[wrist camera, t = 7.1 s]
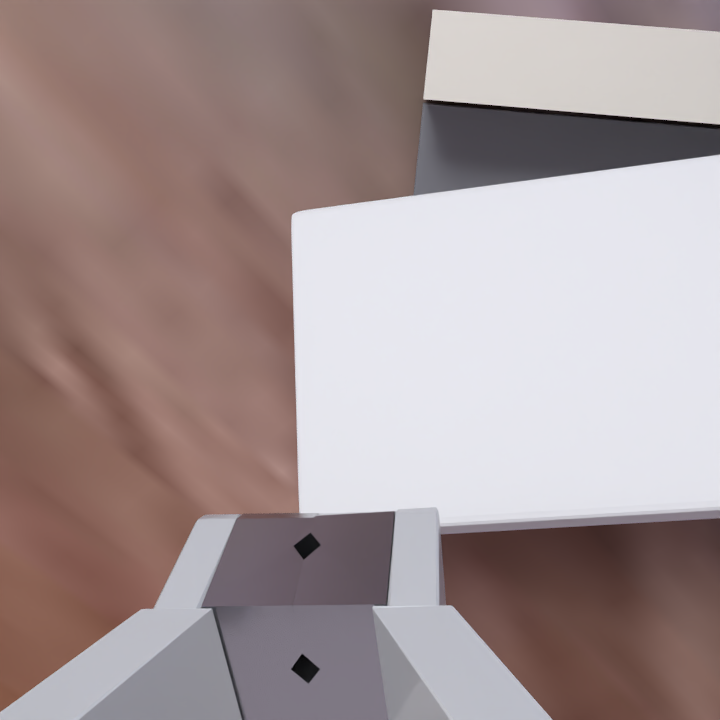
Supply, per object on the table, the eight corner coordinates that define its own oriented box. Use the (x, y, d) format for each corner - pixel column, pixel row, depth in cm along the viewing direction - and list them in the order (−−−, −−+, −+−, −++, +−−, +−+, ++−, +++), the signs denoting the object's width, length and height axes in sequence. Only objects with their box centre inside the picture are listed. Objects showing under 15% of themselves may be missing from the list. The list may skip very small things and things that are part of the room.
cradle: (857, 476, 23) (902, 524, 21) (389, 423, 24) (384, 464, 22) (1054, 61, 18) (1145, 65, 15) (432, 12, 18) (432, 9, 16)
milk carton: (290, 536, 13) (1481, 465, 11) (283, 210, 15) (1287, 75, 12) (355, 539, 20) (1092, 496, 17) (344, 312, 22) (1005, 240, 19)
